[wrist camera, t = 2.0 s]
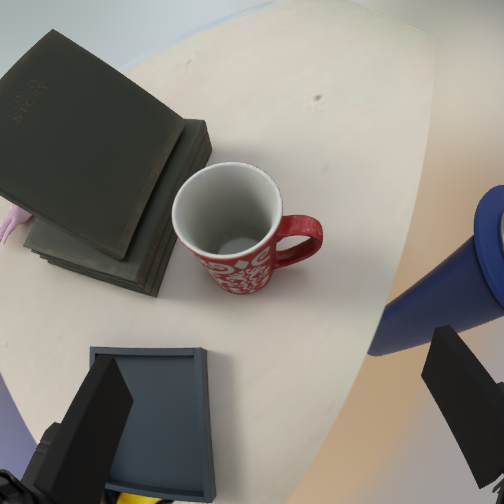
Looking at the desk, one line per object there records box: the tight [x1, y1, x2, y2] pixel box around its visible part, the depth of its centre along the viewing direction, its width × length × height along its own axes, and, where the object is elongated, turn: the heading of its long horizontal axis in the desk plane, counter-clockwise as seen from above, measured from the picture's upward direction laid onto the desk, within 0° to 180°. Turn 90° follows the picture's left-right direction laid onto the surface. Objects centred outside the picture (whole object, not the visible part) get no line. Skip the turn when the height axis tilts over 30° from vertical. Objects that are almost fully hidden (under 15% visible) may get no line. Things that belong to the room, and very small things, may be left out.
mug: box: [172, 162, 323, 294], centre depth 30 cm, size 13×9×14 cm
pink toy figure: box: [0, 204, 32, 244], centre depth 40 cm, size 6×6×15 cm
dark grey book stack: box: [0, 29, 212, 297], centre depth 30 cm, size 23×20×25 cm
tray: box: [90, 347, 216, 503], centre depth 29 cm, size 14×18×3 cm
